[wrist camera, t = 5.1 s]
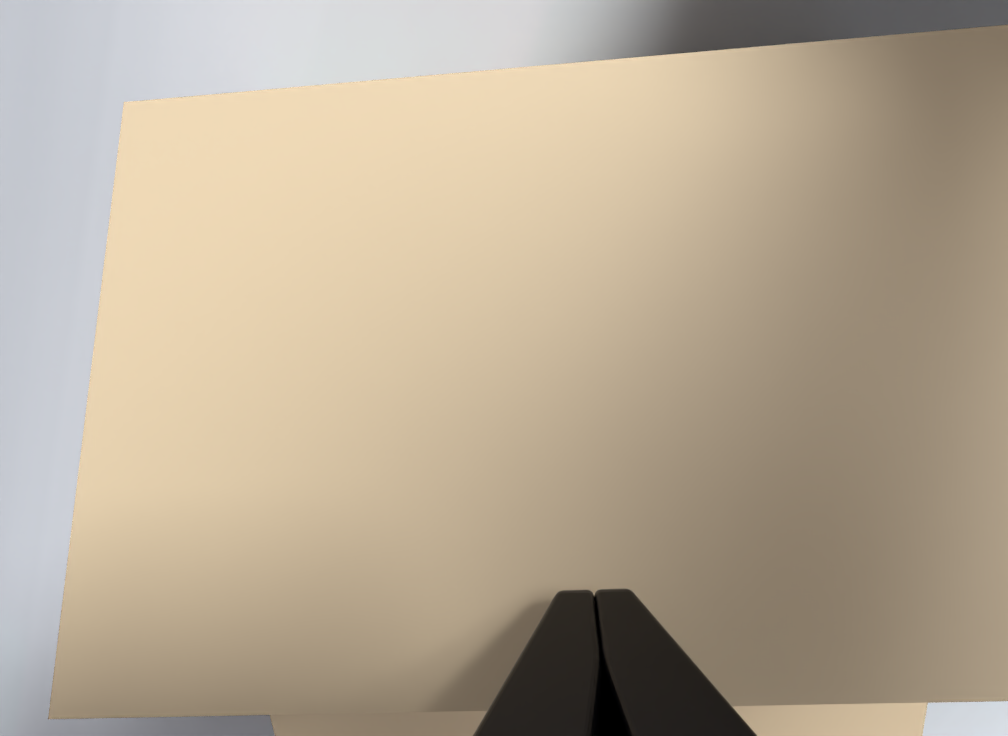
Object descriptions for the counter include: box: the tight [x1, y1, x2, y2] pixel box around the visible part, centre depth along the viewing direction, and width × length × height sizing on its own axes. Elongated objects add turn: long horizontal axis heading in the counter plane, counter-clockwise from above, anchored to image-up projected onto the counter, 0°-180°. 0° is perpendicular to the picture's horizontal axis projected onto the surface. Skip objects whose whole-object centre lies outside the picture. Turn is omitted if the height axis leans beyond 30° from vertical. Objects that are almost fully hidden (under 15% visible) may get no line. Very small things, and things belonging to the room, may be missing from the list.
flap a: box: [48, 25, 1008, 719], centre depth 10 cm, size 14×9×1 cm
